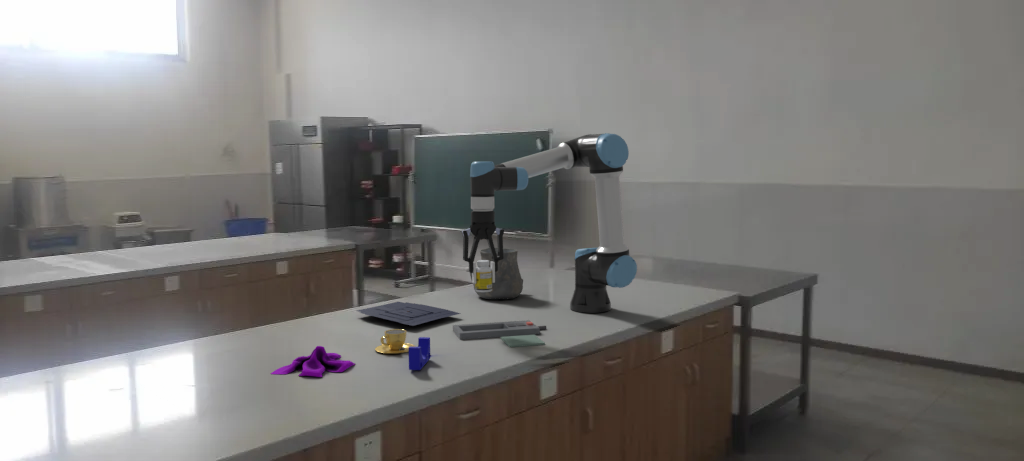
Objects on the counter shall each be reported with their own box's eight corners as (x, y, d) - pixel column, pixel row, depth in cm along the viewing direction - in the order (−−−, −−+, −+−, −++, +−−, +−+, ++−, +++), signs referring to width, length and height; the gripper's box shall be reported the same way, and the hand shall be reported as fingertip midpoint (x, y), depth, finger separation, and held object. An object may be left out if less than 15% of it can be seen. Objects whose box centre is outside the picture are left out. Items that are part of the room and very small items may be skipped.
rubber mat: (534, 336, 234) (534, 334, 234) (544, 344, 224) (544, 342, 224) (500, 338, 232) (500, 336, 232) (509, 347, 221) (509, 345, 221)
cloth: (331, 354, 216) (330, 333, 216) (368, 366, 204) (367, 344, 203) (259, 370, 200) (258, 347, 200) (295, 384, 188) (294, 360, 187)
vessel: (538, 299, 296) (538, 250, 294) (492, 306, 284) (491, 254, 282) (508, 292, 314) (508, 245, 312) (463, 297, 302) (462, 248, 300)
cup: (400, 342, 229) (400, 325, 228) (424, 349, 220) (423, 331, 219) (367, 349, 221) (366, 331, 220) (389, 357, 212) (389, 338, 211)
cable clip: (414, 357, 211) (414, 337, 210) (430, 358, 210) (430, 337, 210) (403, 369, 199) (403, 347, 198) (419, 370, 198) (419, 348, 198)
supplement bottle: (474, 289, 240) (474, 259, 239) (491, 289, 241) (491, 259, 240) (475, 292, 235) (475, 262, 234) (492, 292, 235) (492, 261, 234)
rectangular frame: (540, 325, 250) (540, 317, 250) (551, 333, 239) (551, 325, 238) (452, 331, 242) (452, 323, 242) (459, 339, 231) (459, 331, 231)
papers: (401, 307, 279) (401, 298, 278) (461, 321, 260) (461, 310, 260) (351, 319, 259) (351, 309, 259) (412, 334, 241) (412, 323, 241)
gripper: (507, 208, 241) (508, 279, 243) (451, 210, 236) (453, 282, 239) (513, 210, 234) (514, 282, 236) (456, 211, 229) (457, 285, 231)
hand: (483, 282), depth 237 cm, fingers closed on supplement bottle, 5 cm apart
